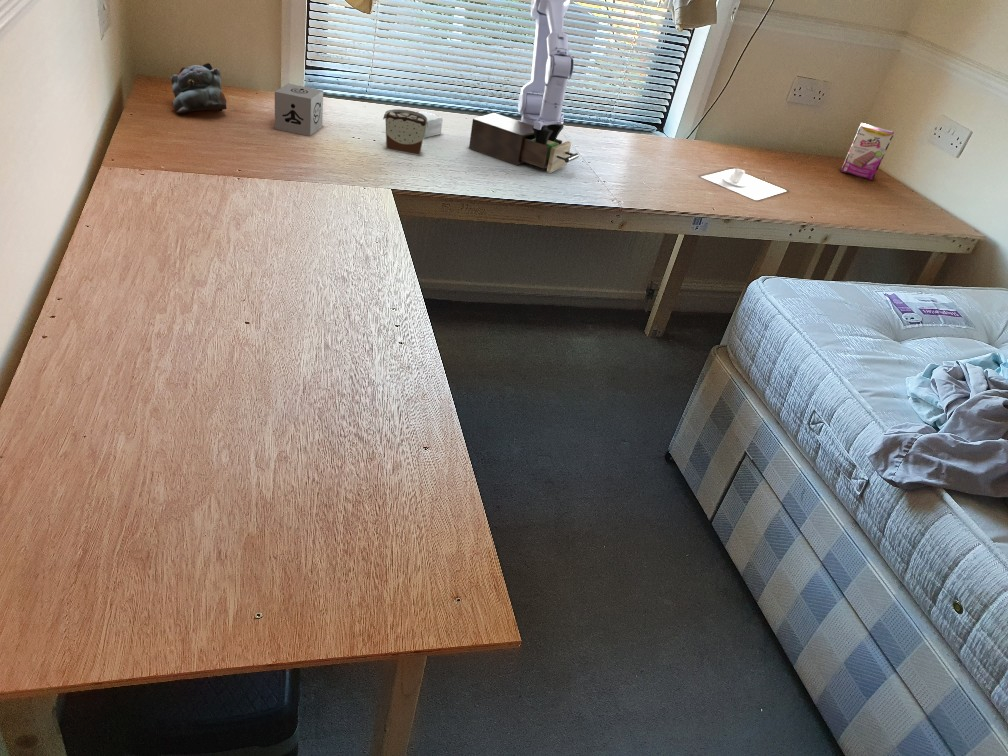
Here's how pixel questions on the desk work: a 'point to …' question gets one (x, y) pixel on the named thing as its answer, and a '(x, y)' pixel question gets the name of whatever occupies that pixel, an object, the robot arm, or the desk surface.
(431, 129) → the small box
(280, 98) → the icon cube
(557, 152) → the drawer
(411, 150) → the panettone cake
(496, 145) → the cabinet
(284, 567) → the desk surface
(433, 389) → the desk surface
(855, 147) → the candy bar box
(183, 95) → the lucky cat figurine
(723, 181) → the teacup and saucer
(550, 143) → the green block
